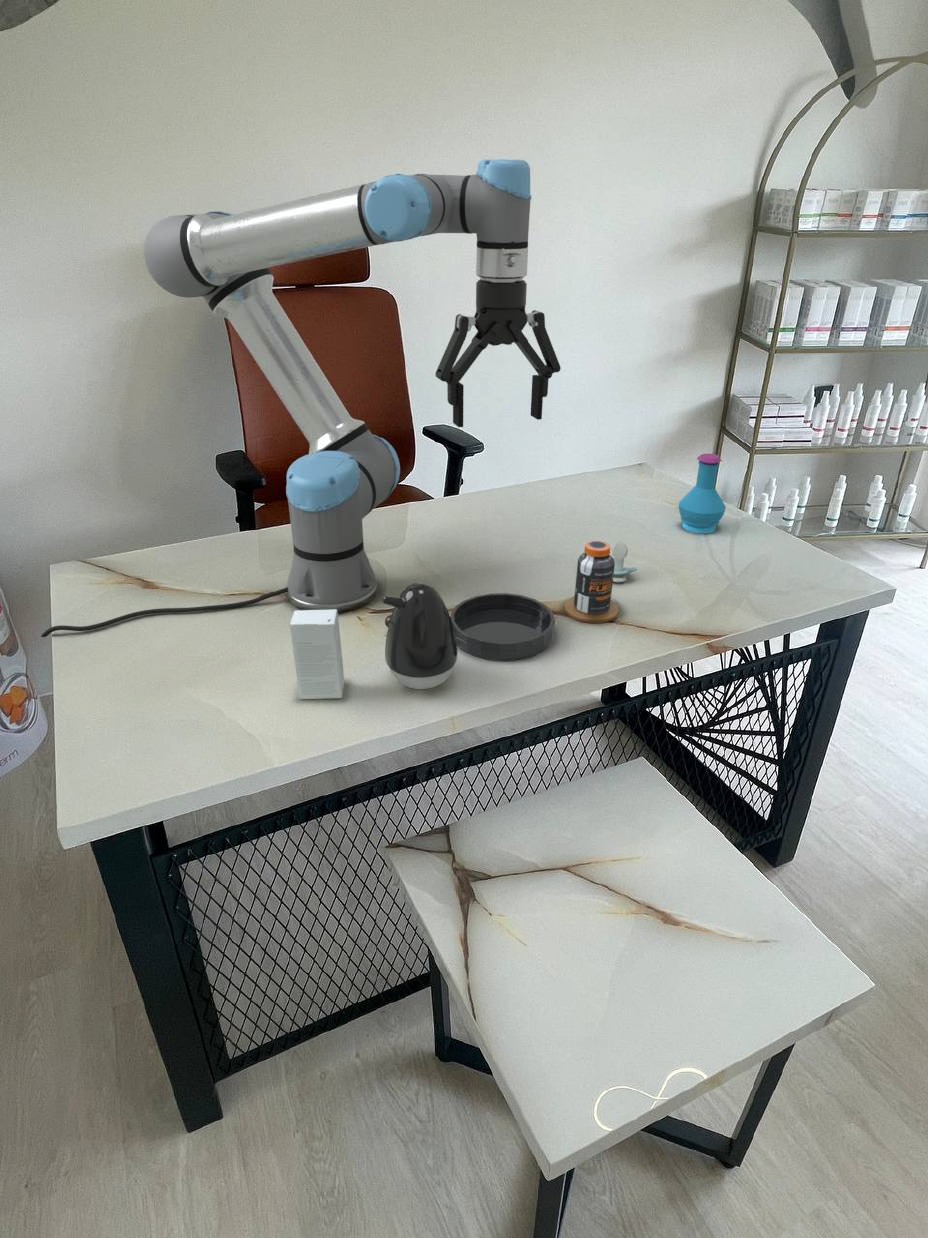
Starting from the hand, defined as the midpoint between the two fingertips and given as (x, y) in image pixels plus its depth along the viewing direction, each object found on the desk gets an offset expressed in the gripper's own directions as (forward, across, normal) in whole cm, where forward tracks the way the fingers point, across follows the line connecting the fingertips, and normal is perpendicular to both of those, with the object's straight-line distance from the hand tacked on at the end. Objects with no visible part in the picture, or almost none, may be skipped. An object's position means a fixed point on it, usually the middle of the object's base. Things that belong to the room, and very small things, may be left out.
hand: (497, 421), depth 129 cm
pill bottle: (+28, +11, -16) cm, 34 cm away
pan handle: (+28, -18, -14) cm, 36 cm away
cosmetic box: (+29, -36, -24) cm, 52 cm away
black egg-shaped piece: (+29, -22, -26) cm, 45 cm away
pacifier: (+29, +21, -6) cm, 36 cm away
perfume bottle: (+29, +49, +8) cm, 57 cm away
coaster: (+28, +11, -16) cm, 34 cm away
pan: (+29, -6, -18) cm, 34 cm away
